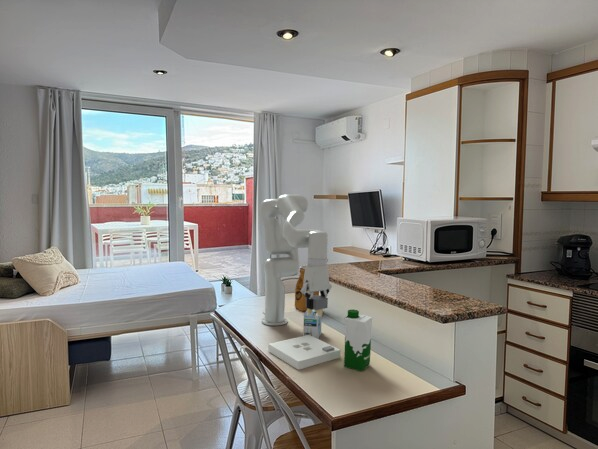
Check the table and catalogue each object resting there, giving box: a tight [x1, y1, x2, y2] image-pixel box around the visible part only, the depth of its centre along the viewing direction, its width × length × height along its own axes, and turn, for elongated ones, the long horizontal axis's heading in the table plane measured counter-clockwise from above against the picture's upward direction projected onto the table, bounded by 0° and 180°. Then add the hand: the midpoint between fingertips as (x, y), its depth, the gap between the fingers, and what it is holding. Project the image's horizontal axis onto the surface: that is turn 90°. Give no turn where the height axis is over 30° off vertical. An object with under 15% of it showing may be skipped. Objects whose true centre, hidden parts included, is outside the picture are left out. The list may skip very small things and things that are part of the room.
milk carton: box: [343, 309, 373, 372], centre depth 143 cm, size 9×9×20 cm
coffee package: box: [294, 269, 320, 312], centre depth 217 cm, size 10×12×22 cm
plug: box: [305, 294, 329, 316], centre depth 156 cm, size 6×6×6 cm
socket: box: [267, 335, 342, 370], centre depth 153 cm, size 20×20×4 cm
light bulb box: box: [302, 309, 323, 340], centre depth 174 cm, size 11×7×11 cm, turn 168°
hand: (316, 306), depth 156 cm, fingers closed on plug, 6 cm apart
